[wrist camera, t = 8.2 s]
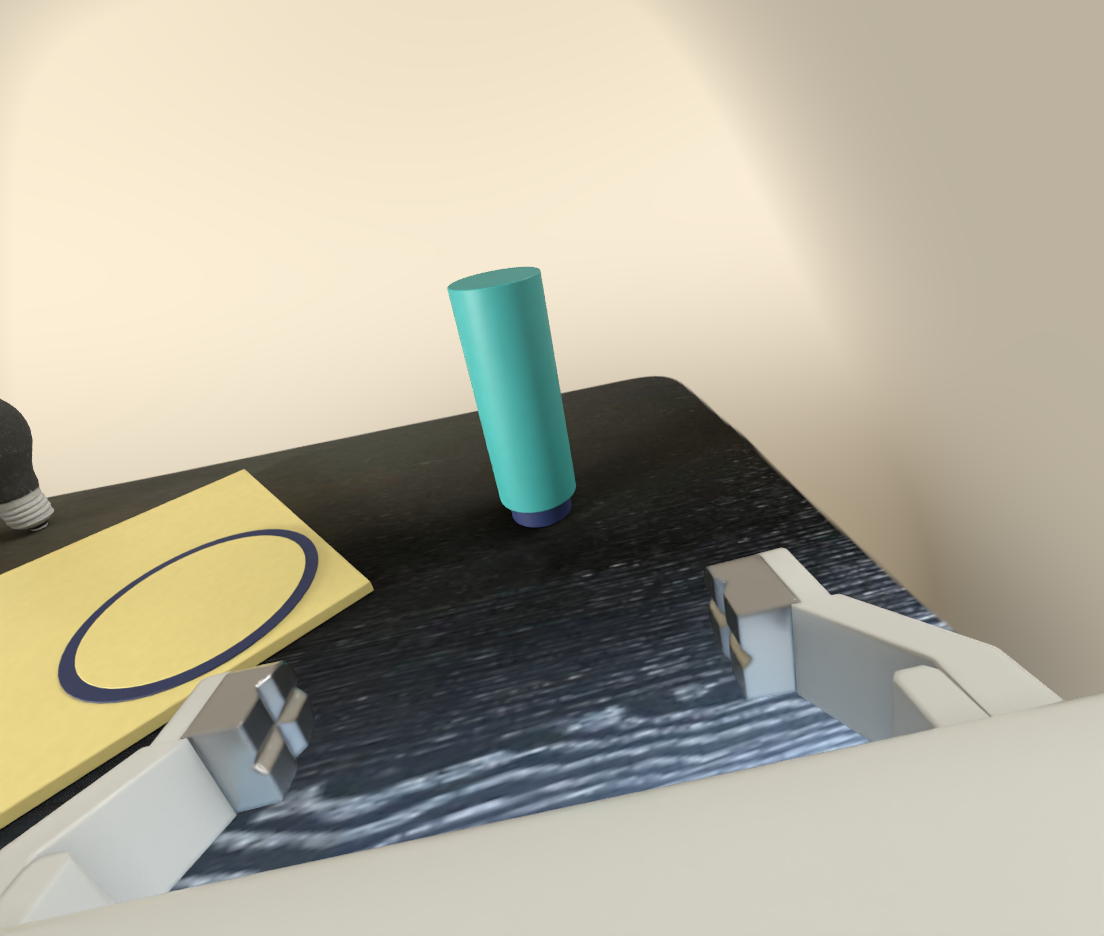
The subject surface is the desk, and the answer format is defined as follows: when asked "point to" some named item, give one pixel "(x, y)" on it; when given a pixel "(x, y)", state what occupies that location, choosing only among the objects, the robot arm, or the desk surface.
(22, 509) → the light bulb
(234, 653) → the writing pad
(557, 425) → the cylinder
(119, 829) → the robot arm
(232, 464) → the desk surface
